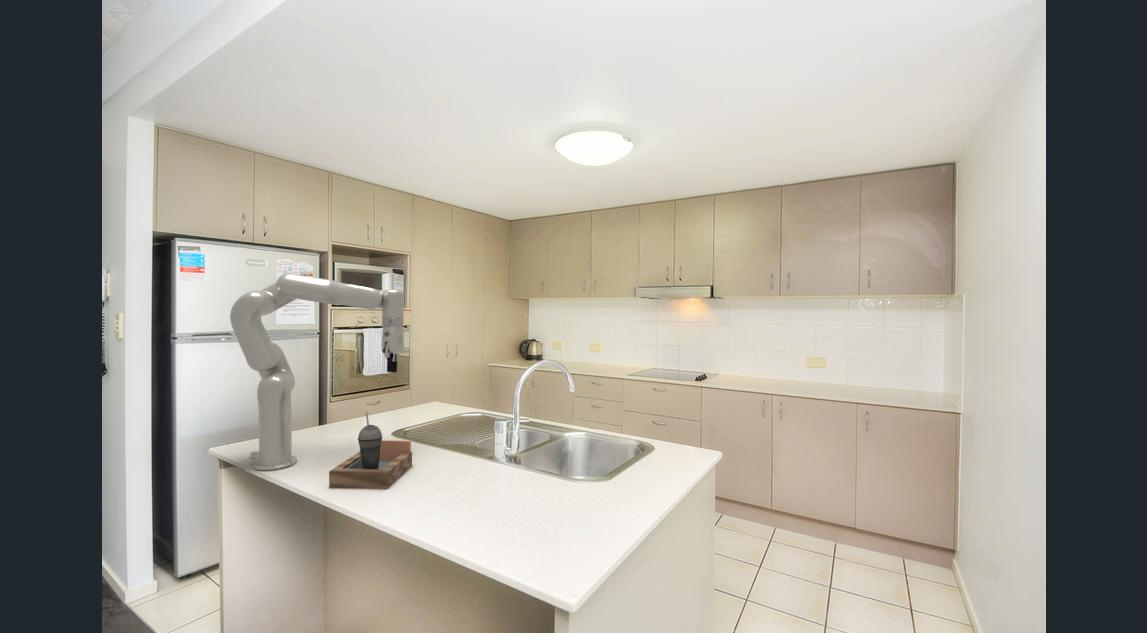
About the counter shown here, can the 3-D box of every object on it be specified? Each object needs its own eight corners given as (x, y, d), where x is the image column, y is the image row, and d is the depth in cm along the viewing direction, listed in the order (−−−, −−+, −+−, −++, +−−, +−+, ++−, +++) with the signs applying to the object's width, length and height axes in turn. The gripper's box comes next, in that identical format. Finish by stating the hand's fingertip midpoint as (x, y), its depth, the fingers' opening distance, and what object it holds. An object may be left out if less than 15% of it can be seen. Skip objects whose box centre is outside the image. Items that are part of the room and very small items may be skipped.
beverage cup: (376, 478, 147) (376, 414, 147) (353, 477, 147) (353, 413, 147) (386, 470, 155) (386, 409, 154) (364, 469, 155) (364, 408, 154)
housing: (361, 465, 163) (361, 450, 163) (412, 466, 163) (412, 451, 163) (329, 487, 143) (329, 471, 143) (387, 489, 143) (387, 472, 143)
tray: (366, 461, 165) (366, 439, 165) (411, 462, 165) (411, 440, 165) (337, 482, 146) (337, 456, 146) (388, 483, 146) (388, 457, 145)
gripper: (394, 323, 169) (393, 375, 169) (410, 322, 184) (409, 369, 184) (373, 323, 169) (372, 374, 169) (391, 322, 184) (390, 369, 184)
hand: (392, 371), depth 177 cm, fingers closed
